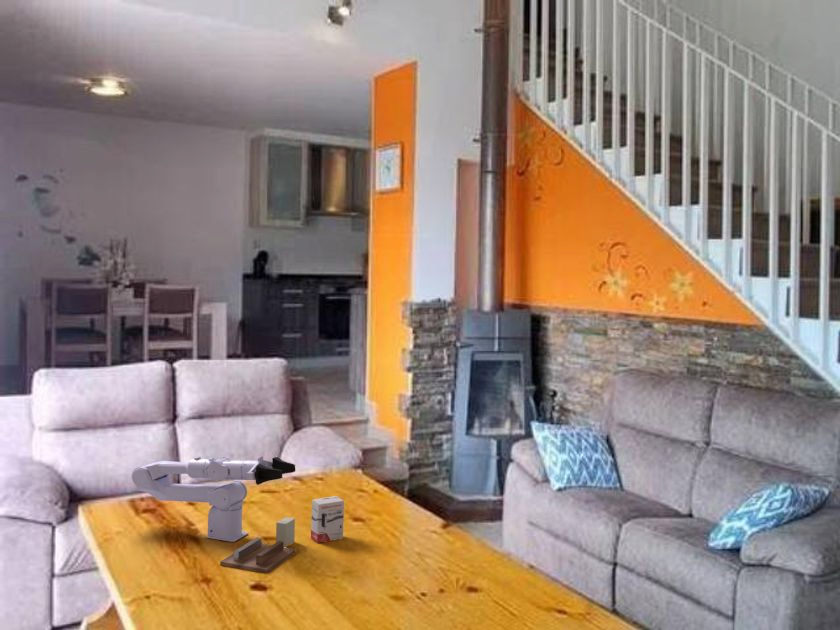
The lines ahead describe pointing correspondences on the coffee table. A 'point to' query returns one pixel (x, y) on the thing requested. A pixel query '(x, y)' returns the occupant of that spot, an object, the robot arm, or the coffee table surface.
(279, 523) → the white rectangular block
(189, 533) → the coffee table surface
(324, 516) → the ink box
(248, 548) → the grey bar
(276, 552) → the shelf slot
